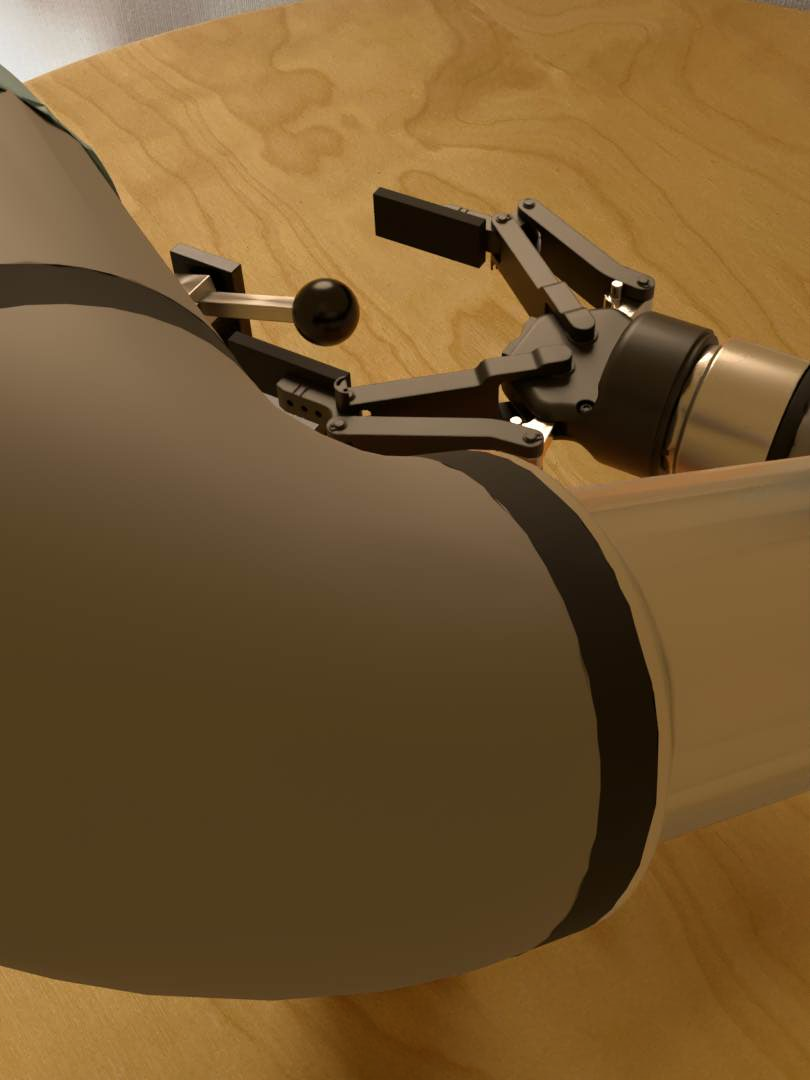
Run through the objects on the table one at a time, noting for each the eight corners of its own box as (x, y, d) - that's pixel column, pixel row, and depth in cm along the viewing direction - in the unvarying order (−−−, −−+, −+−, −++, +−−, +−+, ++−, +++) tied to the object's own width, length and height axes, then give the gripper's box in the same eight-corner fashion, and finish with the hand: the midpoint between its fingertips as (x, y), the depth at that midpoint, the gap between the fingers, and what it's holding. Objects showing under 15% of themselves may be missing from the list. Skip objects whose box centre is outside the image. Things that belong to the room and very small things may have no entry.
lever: (380, 323, 72) (360, 265, 70) (345, 362, 70) (323, 304, 68) (201, 309, 79) (178, 256, 77) (164, 344, 77) (139, 291, 75)
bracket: (334, 427, 85) (317, 263, 75) (254, 519, 80) (224, 356, 70) (183, 368, 89) (148, 206, 80) (97, 452, 84) (49, 290, 75)
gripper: (574, 650, 58) (179, 483, 65) (774, 320, 72) (430, 214, 79) (585, 535, 52) (151, 367, 60) (800, 201, 66) (426, 99, 74)
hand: (309, 279), depth 69 cm, fingers open, 13 cm apart
